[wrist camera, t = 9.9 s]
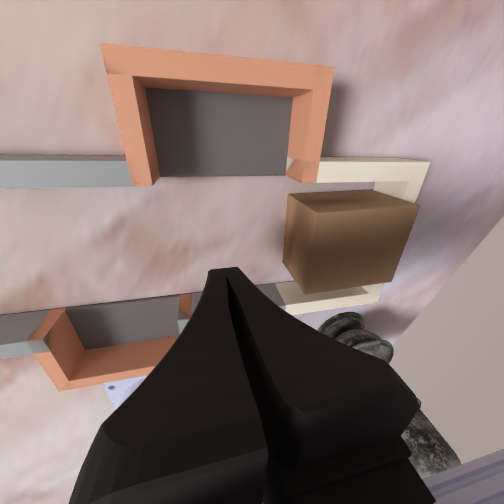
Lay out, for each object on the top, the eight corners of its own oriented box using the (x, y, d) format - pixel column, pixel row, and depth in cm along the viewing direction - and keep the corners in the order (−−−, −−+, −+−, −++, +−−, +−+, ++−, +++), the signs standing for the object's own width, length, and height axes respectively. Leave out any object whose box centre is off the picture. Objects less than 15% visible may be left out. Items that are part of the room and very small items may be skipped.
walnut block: (352, 252, 17) (391, 281, 14) (281, 260, 16) (304, 294, 13) (369, 188, 15) (420, 205, 12) (287, 193, 14) (316, 212, 10)
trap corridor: (346, 314, 21) (364, 335, 18) (-13, 371, 15) (-49, 411, 13) (416, 89, 12) (462, 80, 10) (-317, 25, 7) (-555, -25, 5)
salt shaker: (368, 301, 20) (541, 472, 10) (364, 341, 23) (496, 504, 13) (309, 321, 20) (430, 522, 10) (313, 359, 23) (409, 543, 13)
